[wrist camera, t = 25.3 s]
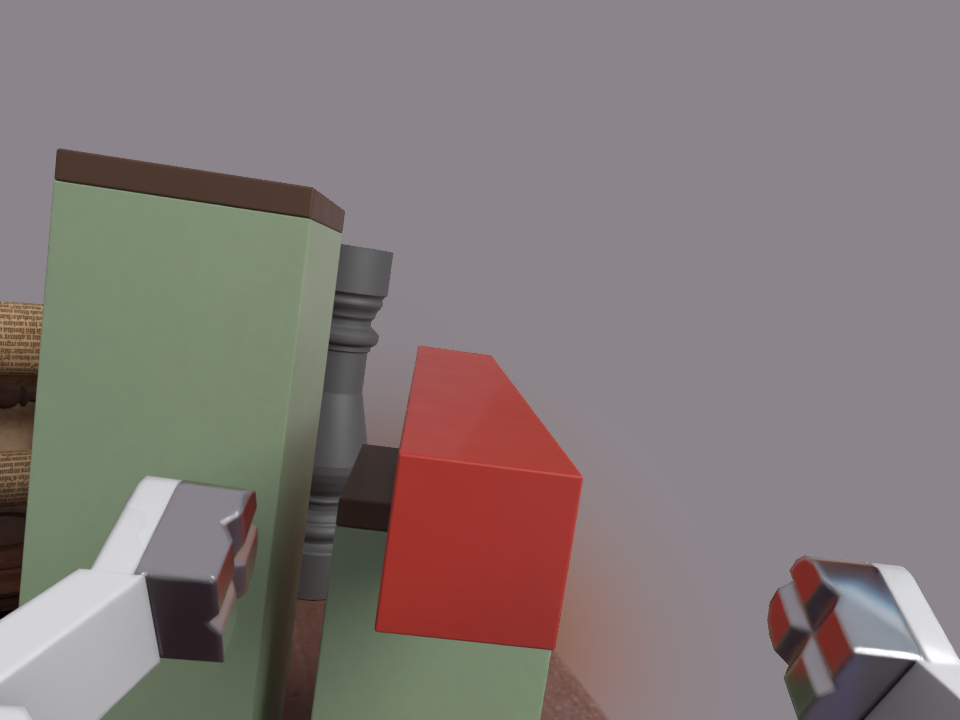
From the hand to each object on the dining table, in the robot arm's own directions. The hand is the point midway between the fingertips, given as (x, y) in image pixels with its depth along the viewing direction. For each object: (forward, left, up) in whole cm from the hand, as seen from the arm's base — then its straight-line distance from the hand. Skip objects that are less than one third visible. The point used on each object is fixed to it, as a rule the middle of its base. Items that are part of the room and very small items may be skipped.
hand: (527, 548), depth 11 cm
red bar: (+12, -12, -4) cm, 17 cm away
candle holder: (+36, -24, -20) cm, 48 cm away
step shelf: (+16, -9, -20) cm, 27 cm away
